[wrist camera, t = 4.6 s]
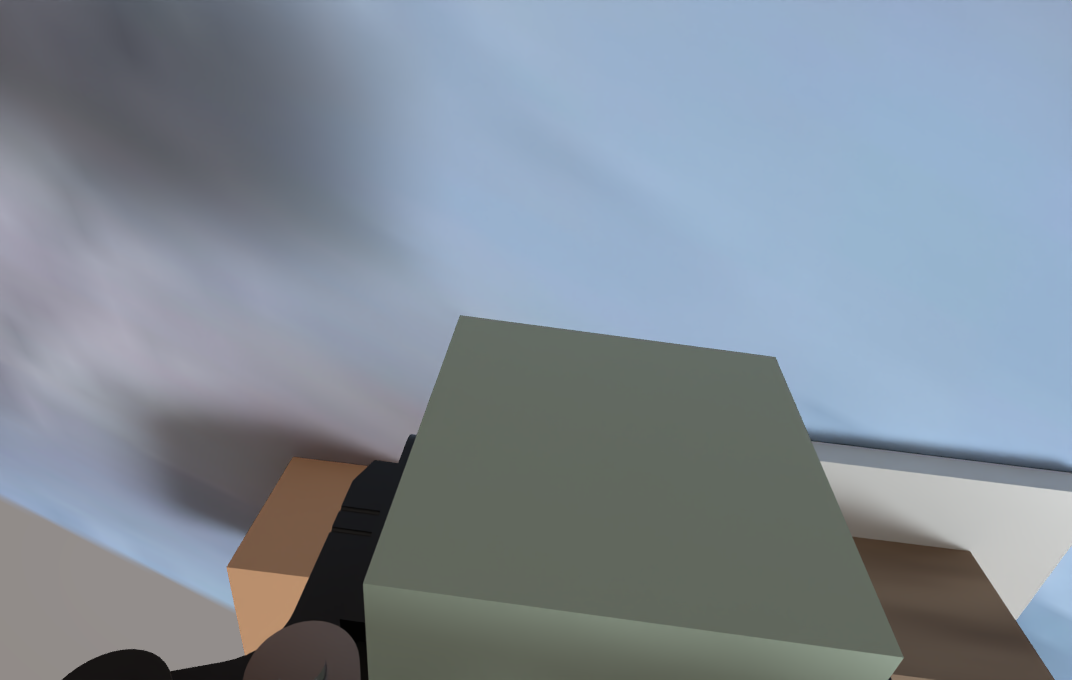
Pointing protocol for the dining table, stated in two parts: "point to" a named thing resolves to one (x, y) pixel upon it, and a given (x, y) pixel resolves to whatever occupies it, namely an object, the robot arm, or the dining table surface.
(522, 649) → the sage block
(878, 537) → the grey plate
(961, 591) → the walnut base block
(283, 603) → the terracotta block
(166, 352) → the dining table surface
